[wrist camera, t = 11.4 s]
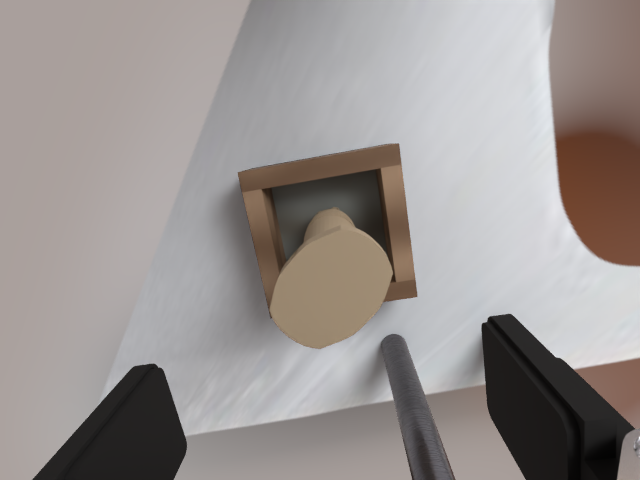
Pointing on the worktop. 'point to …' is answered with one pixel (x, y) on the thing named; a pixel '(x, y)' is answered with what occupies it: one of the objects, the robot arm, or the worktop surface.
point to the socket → (324, 193)
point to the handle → (330, 282)
